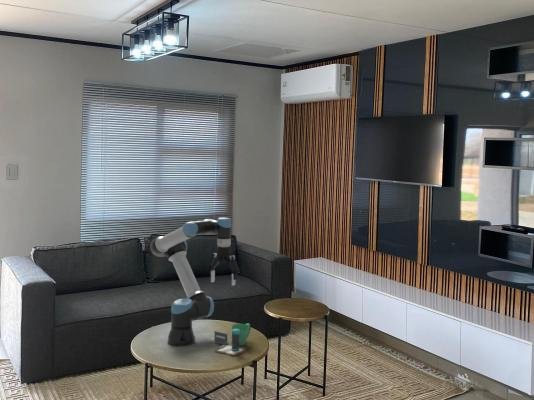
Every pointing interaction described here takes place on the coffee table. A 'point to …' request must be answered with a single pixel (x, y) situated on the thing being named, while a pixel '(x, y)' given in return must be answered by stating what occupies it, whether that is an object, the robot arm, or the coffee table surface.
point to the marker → (235, 339)
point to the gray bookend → (220, 338)
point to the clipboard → (229, 350)
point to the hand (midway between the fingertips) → (223, 283)
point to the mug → (242, 332)
